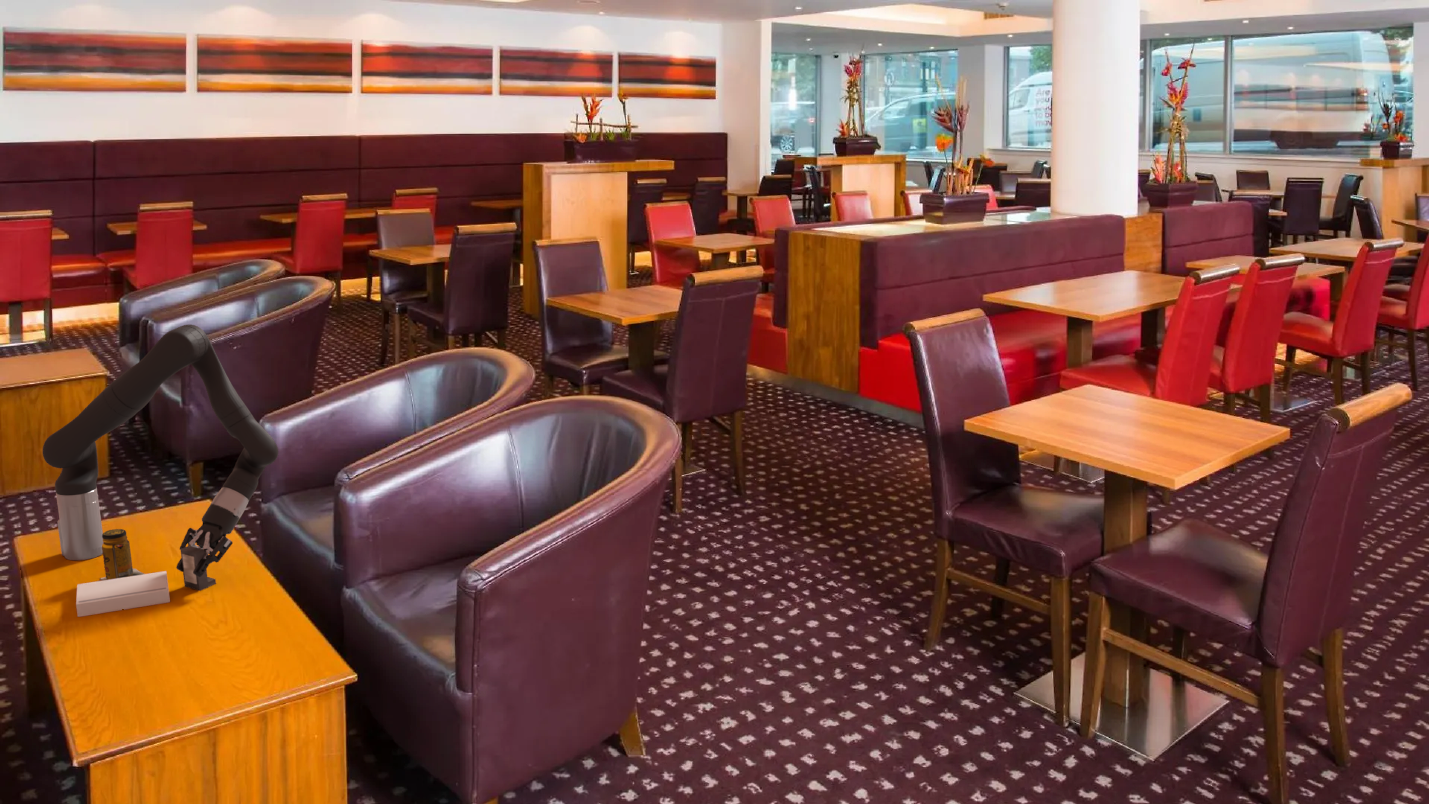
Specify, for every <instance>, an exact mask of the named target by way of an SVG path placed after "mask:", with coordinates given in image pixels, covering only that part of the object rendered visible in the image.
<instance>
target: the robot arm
mask: <svg viewBox="0 0 1429 804" xmlns="http://www.w3.org/2000/svg"><path fill="white" fill-rule="evenodd" d="M190 365H191V366H192V367H193V368H194V370H195V371H196V372H197V373H198V375H199V377H200V379H201V380H202V383H203V385H204V387H205V390H206V393H207V397H208V400H209V402H210V405H211V406H210V407H211V408H212V410H213V412H214V414H215V416H216V417H217V419H218V420H219V422H220V423H221V425H222V426H223V427H224V429H225V430H226V432H227V433H228V434H229V436H230V437H233V438H234V439H236V440H238V441H239V442H240V444H241V445H242V447H243V449H242V450H241V452H240V454H239V456H238V458H237V460H236V462H235V465H234V466H233V470H232V471H231V473H230V474H229V476H228V477H227V479H226V480H225V482H224V484H223V485H222V487H221V489H220V490H219V491H218V492H217V493H216V495H215V496H214V498H213V499H212V501H211V503H210V504H209V505H208V508H207V510H206V511H205V513H204V514H203V516H202V518H201V522H202V524H201V526H199V528H198V529H194V528H192V527H189V528H188V529H187V531H186V533H185V536H184V538H183V540H182V542H181V545H180V546H179V550H180V549H182V548H184V547H187V546H192V547H196V548H199V549H203V550H204V551H205V552H204V554H203V557H202V559H201V560H200V561H199V563H198V565H197V566H196V568H195V569H194V571H193V574H195V575H196V576H198V577H201V576H202V575H203V574H204V572H205V571H206V569H208V567H209V565H210V564H212V563H219V562H220V561H221V560H222V558H223V557H224V555H225V554H226V553H227V552H228V550H229V549H230V548H231V546H232V545H233V541H232V540H231V539H230V538H228V537H227V535H231V534H232V532H233V530H234V529H235V528H236V525H237V523H238V522H239V520H240V519H241V518H242V516H243V514H244V512H245V510H246V509H247V506H248V503H249V501H250V500H251V498H252V496H253V494H254V493H255V491H256V489H257V488H258V485H259V479H260V477H261V475H262V474H263V472H264V470H265V468H266V467H267V466H269V465H271V464H273V463H274V462H275V461H276V460H277V458H278V456H279V447H278V445H277V443H276V441H275V440H274V438H273V437H272V435H270V433H269V432H268V431H267V430H266V429H265V428H264V427H263V426H262V425H261V424H260V423H259V422H258V421H257V420H256V418H255V417H254V415H253V414H252V413H251V411H250V410H249V408H248V406H247V405H246V404H245V402H244V401H243V399H242V398H241V396H240V395H239V394H238V392H237V390H236V389H235V387H234V386H233V384H232V382H231V380H230V379H229V377H228V375H227V373H226V371H225V368H224V367H223V364H222V363H221V361H220V359H219V357H218V354H217V353H216V350H215V348H214V346H213V344H212V342H211V340H210V339H209V337H208V335H207V333H206V332H205V330H203V329H202V328H201V327H200V326H197V325H195V324H184V325H181V326H178V327H175V328H174V329H171V330H169V331H167V332H166V333H165V334H164V335H162V337H160V338H159V340H158V341H157V342H156V343H155V344H154V346H153V347H151V349H150V350H149V351H148V352H147V354H146V355H145V356H144V357H142V359H141V360H139V361H138V362H137V363H136V364H134V365H133V366H131V367H130V368H129V369H127V370H125V371H124V372H122V374H121V375H119V376H118V377H117V378H115V379H114V380H113V381H111V383H110V384H108V386H106V387H105V388H104V389H103V390H102V391H101V392H100V393H99V394H98V395H97V396H96V397H95V398H94V399H93V400H92V401H91V402H90V403H88V405H87V406H86V407H85V408H83V409H82V411H81V412H80V413H79V414H78V415H77V416H75V418H73V419H72V420H71V421H69V422H68V423H67V424H66V425H64V426H63V427H61V428H60V429H58V430H57V431H55V432H54V433H52V434H51V435H49V436H48V437H47V438H46V439H45V441H44V443H43V446H42V456H43V459H44V461H45V462H46V463H47V465H49V466H51V467H53V468H56V469H61V472H60V474H59V476H58V477H57V479H56V480H55V482H54V490H55V495H56V502H57V503H56V504H57V511H58V518H59V519H58V520H57V528H58V529H57V530H58V536H59V542H60V551H61V556H64V558H65V559H67V560H69V561H83V560H89V559H94V558H97V557H99V556H102V555H103V551H102V544H103V538H102V534H103V533H104V532H103V526H102V525H103V524H102V517H101V507H100V502H99V495H98V488H97V487H98V486H97V481H98V477H99V462H98V461H99V460H98V452H97V451H98V448H97V444H96V441H98V440H99V439H101V438H102V437H104V436H106V435H107V434H109V433H110V432H112V431H113V430H115V429H117V428H119V427H120V426H122V425H123V424H125V423H126V422H127V421H129V420H131V419H132V418H133V417H135V415H137V414H138V412H140V411H141V410H143V408H145V406H147V404H148V403H150V401H151V400H152V399H153V398H154V396H155V394H156V393H157V391H158V390H159V388H160V386H162V384H163V383H165V382H166V381H167V380H168V379H169V378H171V377H172V376H173V375H175V374H176V373H178V372H180V371H182V370H183V369H184V368H187V367H188V366H190ZM218 552H219V553H218ZM175 568H176V569H177V570H178V571H179V572H182V573H183V566H182V558H180V559H179V561H178V562H177V564H176V567H175Z"/></svg>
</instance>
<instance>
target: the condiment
mask: <svg viewBox="0 0 1429 804" xmlns="http://www.w3.org/2000/svg"><path fill="white" fill-rule="evenodd" d="M102 538H103V544H102V551H103V554H102V557H103V565H104V573H105V576H104V577H100V578H99V579H100V580H101V581H104V580H110V579H117V578H123V577H130V576H137V575H143V574H145V573H144V572H141V571H140V570H138V569H137V568H133V561H132V553H131V545H130V541H129V539H128V535H127V530H125V529H123V528H115V529H109V530H106V531H104V532H103V534H102Z"/></svg>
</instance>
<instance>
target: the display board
mask: <svg viewBox="0 0 1429 804" xmlns="http://www.w3.org/2000/svg"><path fill="white" fill-rule="evenodd" d="M75 601H76V602H75V607H76V613H77V617H80V618H81V617H87V616H91V615H98V614H104V613H110V612H111V613H112V612H116V611H123V610H122V609H124V610H129V609H135V608H141V607H147V606H154V605H160V604H167V603H170V602H171V599H170V590H169V582H168V574H167V570H164V571H163V570H162V571H157V572H152V573H151V572H150V573H144V574H143V575H137V576H130V577H123V578H117V579H110V580H104V581H103V580H97V581H92V582H91V581H90V582H86V583H85V582H83V583H77V586H76V600H75Z"/></svg>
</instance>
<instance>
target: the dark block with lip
mask: <svg viewBox="0 0 1429 804" xmlns="http://www.w3.org/2000/svg"><path fill="white" fill-rule="evenodd" d="M179 550H180V557H181V558H182V566H183V572H182V573H183V583H184V584H183V585H184V587H185V588H190V589H191V590H195V591H200V592H201V591H203V590H206V589H208V588H209V587H212V586H214V585H216V584H217V581H216V578H213V577H209V576H208V572H207V569H208V568H207V569H206V571H205V572H204V574H203V575H202V576H201V577H198V576H196V575H195V574H193V571H194V569H195V568H196V566H197V565H198V563H199V561H200V560H201V559H202V557H203V554H204V552H205V551H204V550H203V549H199V548H196V547H192V546H188V545H186V547H184V548H182V549H180V548H179ZM181 558H180V559H181Z"/></svg>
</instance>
